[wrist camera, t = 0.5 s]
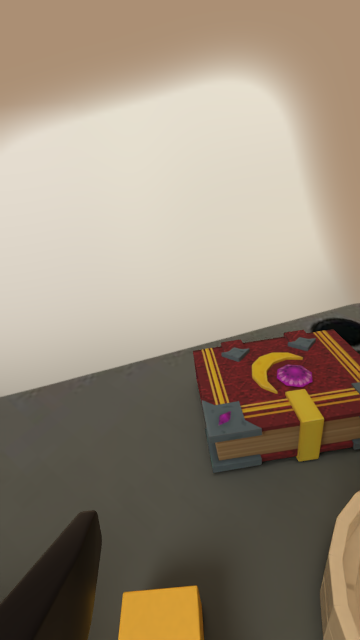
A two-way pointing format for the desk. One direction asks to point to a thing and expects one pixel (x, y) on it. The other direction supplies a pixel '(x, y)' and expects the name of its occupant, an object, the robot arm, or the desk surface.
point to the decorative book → (279, 398)
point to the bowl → (343, 577)
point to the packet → (162, 614)
